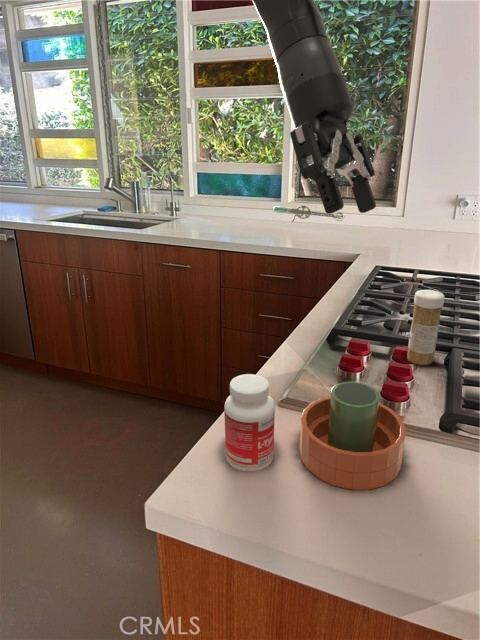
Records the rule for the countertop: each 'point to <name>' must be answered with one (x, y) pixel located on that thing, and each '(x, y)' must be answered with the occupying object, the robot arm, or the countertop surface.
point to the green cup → (353, 417)
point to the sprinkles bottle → (424, 326)
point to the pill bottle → (249, 423)
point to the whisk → (303, 212)
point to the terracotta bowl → (348, 465)
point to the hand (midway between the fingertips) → (352, 210)
